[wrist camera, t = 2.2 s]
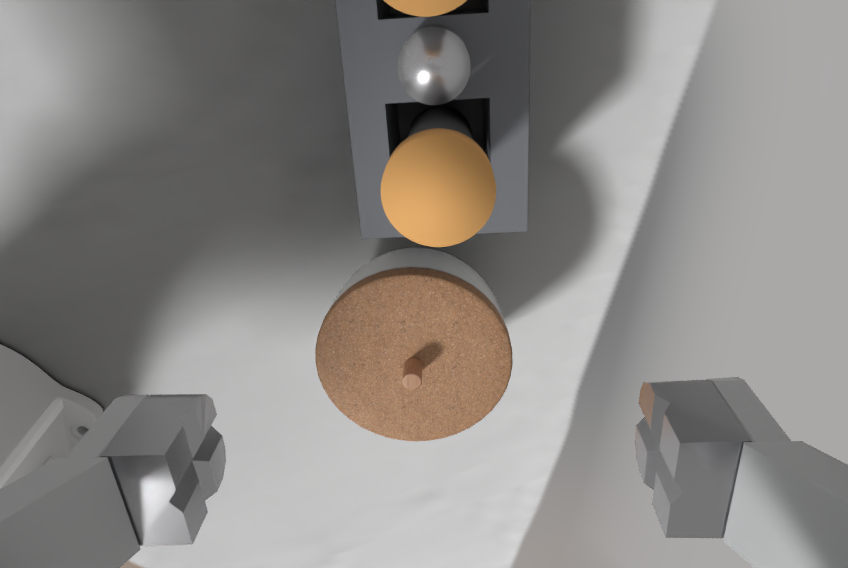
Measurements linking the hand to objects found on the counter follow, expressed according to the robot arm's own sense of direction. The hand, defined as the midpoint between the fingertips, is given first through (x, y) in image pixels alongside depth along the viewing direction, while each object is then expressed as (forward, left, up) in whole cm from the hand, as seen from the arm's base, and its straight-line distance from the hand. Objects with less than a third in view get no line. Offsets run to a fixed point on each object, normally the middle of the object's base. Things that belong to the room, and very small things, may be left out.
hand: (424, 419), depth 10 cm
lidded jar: (-12, +2, -28) cm, 30 cm away
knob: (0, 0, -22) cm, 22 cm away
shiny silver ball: (+4, 0, -19) cm, 20 cm away
